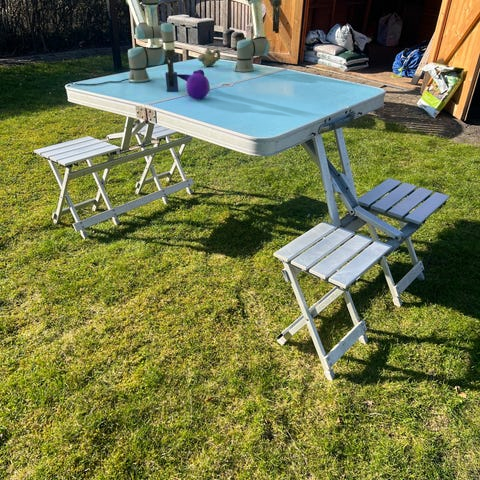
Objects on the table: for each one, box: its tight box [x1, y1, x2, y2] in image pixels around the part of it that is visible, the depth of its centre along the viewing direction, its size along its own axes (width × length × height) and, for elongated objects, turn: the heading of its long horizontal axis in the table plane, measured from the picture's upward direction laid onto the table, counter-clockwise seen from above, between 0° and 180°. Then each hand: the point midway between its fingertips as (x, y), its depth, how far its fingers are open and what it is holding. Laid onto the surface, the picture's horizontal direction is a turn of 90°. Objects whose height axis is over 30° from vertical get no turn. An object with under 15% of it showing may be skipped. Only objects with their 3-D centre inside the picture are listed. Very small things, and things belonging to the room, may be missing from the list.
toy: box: [176, 69, 211, 100], centre depth 285 cm, size 16×18×27 cm
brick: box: [164, 71, 179, 93], centre depth 305 cm, size 8×5×12 cm, turn 94°
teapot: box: [197, 47, 221, 68], centre depth 386 cm, size 21×12×15 cm, turn 120°
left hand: (172, 85), depth 306 cm, fingers open, 8 cm apart
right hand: (275, 32), depth 329 cm, fingers open, 13 cm apart
